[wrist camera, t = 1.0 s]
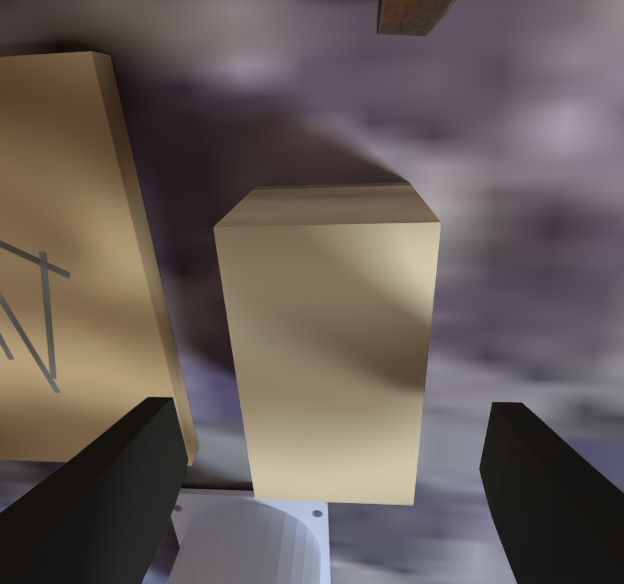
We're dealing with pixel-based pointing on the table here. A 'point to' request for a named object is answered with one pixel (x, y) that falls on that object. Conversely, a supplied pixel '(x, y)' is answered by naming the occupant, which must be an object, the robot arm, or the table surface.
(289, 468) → the block
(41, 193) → the board
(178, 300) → the table surface
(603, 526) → the robot arm
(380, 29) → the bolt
